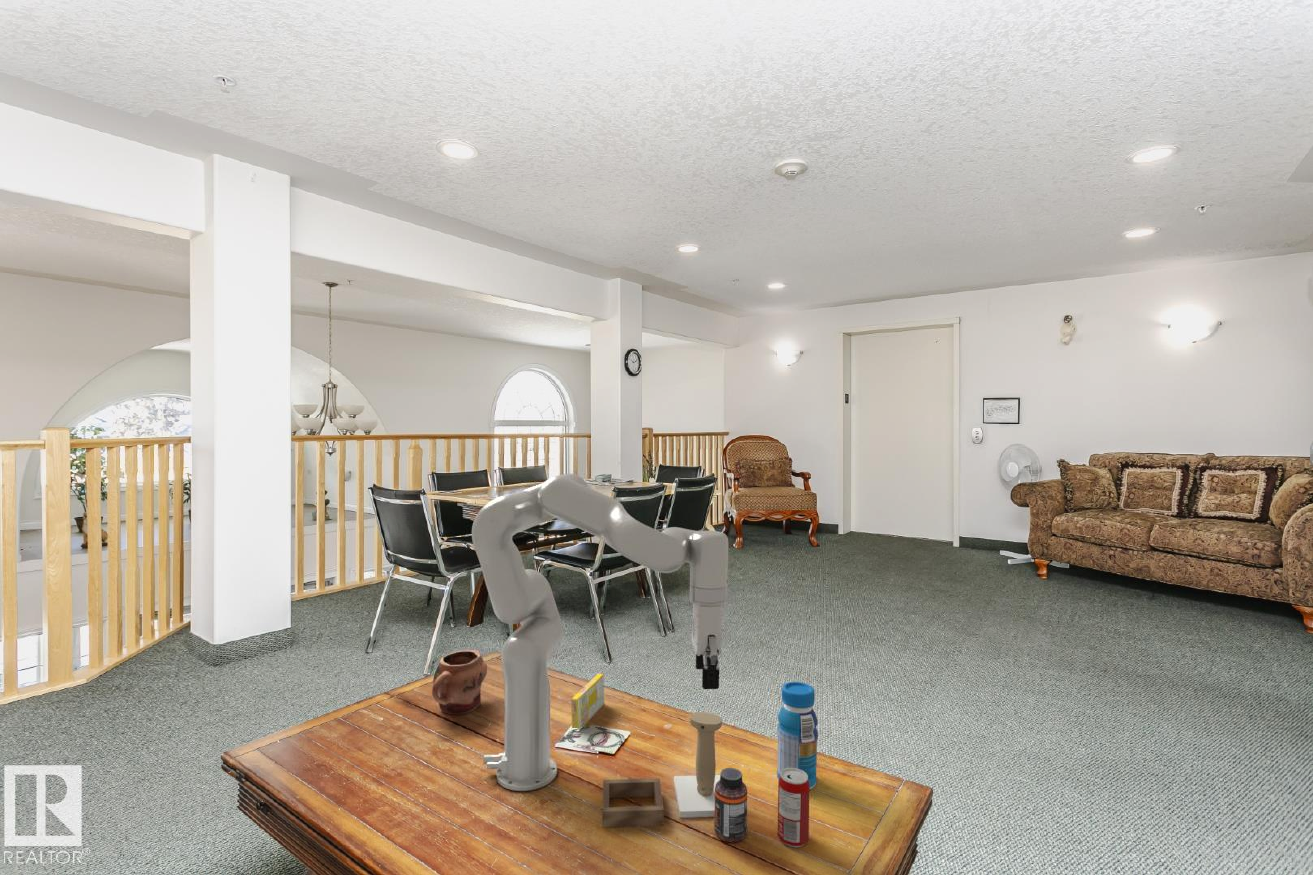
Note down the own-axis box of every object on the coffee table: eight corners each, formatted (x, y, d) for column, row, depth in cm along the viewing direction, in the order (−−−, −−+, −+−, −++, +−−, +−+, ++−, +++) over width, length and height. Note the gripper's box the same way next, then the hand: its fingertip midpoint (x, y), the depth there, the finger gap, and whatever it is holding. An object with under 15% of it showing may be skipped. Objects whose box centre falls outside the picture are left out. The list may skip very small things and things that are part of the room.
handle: (717, 802, 123) (718, 726, 123) (686, 794, 125) (687, 720, 125) (724, 788, 127) (724, 715, 127) (694, 781, 130) (694, 710, 130)
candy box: (597, 703, 169) (597, 672, 168) (604, 704, 168) (605, 673, 168) (570, 731, 153) (570, 697, 153) (578, 732, 153) (578, 699, 152)
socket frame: (602, 827, 117) (602, 811, 117) (603, 794, 127) (603, 779, 127) (663, 825, 118) (663, 809, 118) (659, 792, 128) (659, 778, 128)
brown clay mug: (459, 731, 152) (459, 674, 152) (414, 725, 155) (414, 669, 154) (497, 696, 172) (497, 645, 171) (456, 691, 174) (456, 642, 174)
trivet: (679, 817, 120) (679, 811, 120) (673, 781, 132) (673, 776, 132) (741, 815, 121) (741, 809, 121) (730, 780, 133) (730, 774, 133)
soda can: (804, 828, 117) (805, 765, 117) (812, 848, 112) (813, 782, 111) (774, 828, 117) (775, 765, 117) (781, 848, 112) (782, 782, 111)
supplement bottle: (711, 823, 118) (712, 764, 118) (742, 822, 119) (743, 763, 119) (717, 844, 112) (718, 782, 112) (750, 843, 113) (751, 781, 113)
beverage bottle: (773, 787, 130) (774, 692, 130) (779, 766, 138) (781, 676, 138) (814, 796, 127) (816, 698, 127) (819, 774, 135) (820, 682, 135)
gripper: (685, 582, 134) (683, 661, 135) (695, 606, 117) (693, 697, 117) (719, 582, 135) (718, 661, 135) (735, 606, 117) (733, 696, 118)
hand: (706, 678), depth 126 cm, fingers open, 9 cm apart
